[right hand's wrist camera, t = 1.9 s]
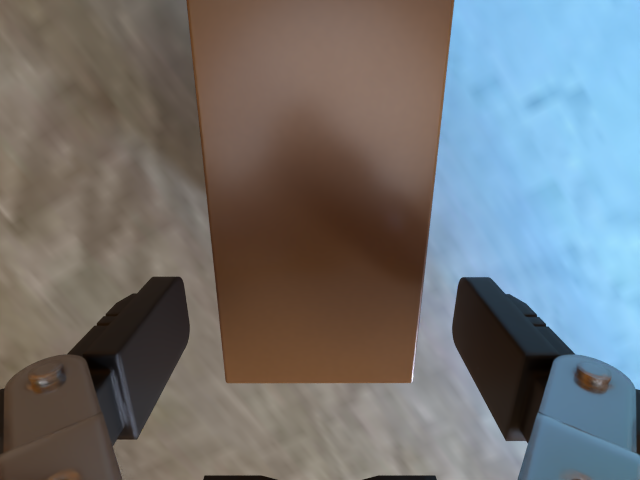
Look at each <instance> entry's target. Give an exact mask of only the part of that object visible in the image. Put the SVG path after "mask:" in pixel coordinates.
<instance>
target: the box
mask: <svg viewBox="0 0 640 480" xmlns="http://www.w3.org/2000/svg"><path fill="white" fill-rule="evenodd" d="M453 8H454V0H187V10H188V20H189V30H190V39H191V49H192V59H193V68H194V78H195V88H196V97H197V107H198V117H199V127H200V136H201V146H202V156H203V165H204V175H205V185H206V194H207V204H208V214H209V224H210V233H211V243H212V253H213V262H214V272H215V282H216V292H217V301H218V311H219V321H220V330H221V340H222V350H223V359H224V369H225V379H226V382H227V383H412V381H413V375H414V365H415V356H416V347H417V338H418V329H419V320H420V310H421V301H422V292H423V283H424V274H425V265H426V255H427V246H428V237H429V228H430V219H431V210H432V200H433V191H434V182H435V173H436V164H437V155H438V145H439V136H440V127H441V118H442V109H443V100H444V90H445V81H446V72H447V63H448V54H449V45H450V35H451V26H452V17H453Z"/></svg>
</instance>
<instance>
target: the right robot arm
mask: <svg viewBox="0 0 640 480" xmlns="http://www.w3.org/2000/svg"><path fill="white" fill-rule="evenodd" d="M189 332H190V324H189V317H188V310H187V303H186V296H185V289H184V283H183V280H182V278H181V277H152V278H151V279H150V280H149V281H148V282H147V283H146V284H145V285H144V286H143V288H142V289H141V290H140V291H139V292H138V293H137V294H131V295H130V296H128V297H126V298H124V299H123V300H121V301H119V302H117V303H116V304H115V305H114V306H113V307H112V308H111V309H110V310H109V311H108V312H107V313H106V316H103V318H102V319H101V320H100V321H99V322H98V323H97V326H94V327H93V328H92V329H91V330H90V331H89V332H88V333H87V334H86V335H85V336H84V337H83V338H82V339H81V340H80V341H79V342H78V343H77V344H76V346H75V347H74V348H73V349H72V350H71V351H70V352H69V353H68V354H67V355H58V356H53V357H49V358H46V359H43V360H40V361H38V362H35V363H33V364H31V365H29V366H27V367H25V368H24V369H22V370H21V371H19V372H18V373H17V374H15V375H14V376H13V377H12V378H11V379H10V380H9V382H8V383H7V385H6V387H5V389H0V480H122V477H121V473H120V470H119V467H118V463H117V460H116V456H115V453H114V450H113V445H114V443H115V442H116V440H117V439H137V438H138V437H139V435H140V433H141V431H142V429H143V427H144V425H145V423H146V421H147V419H148V418H149V416H150V414H151V412H152V410H153V408H154V406H155V404H156V402H157V400H158V399H159V397H160V395H161V393H162V391H163V389H164V387H165V385H166V383H167V382H168V380H169V378H170V376H171V374H172V372H173V370H174V368H175V366H176V364H177V363H178V361H179V359H180V357H181V355H182V353H183V351H184V349H185V347H186V345H187V343H188V339H189ZM452 333H453V340H454V343H455V346H456V348H457V350H458V352H459V354H460V355H461V357H462V359H463V361H464V363H465V365H466V367H467V369H468V370H469V372H470V374H471V376H472V378H473V380H474V382H475V384H476V386H477V387H478V389H479V391H480V393H481V395H482V397H483V399H484V401H485V402H486V404H487V406H488V408H489V410H490V412H491V414H492V416H493V417H494V419H495V421H496V423H497V425H498V427H499V429H500V431H501V432H502V434H503V436H504V438H505V440H506V441H527V443H528V446H527V450H526V453H525V456H524V460H523V463H522V467H521V470H520V473H519V477H518V480H640V390H637V389H635V387H634V385H633V383H632V382H631V380H630V379H629V378H628V377H627V376H626V375H625V374H623V373H622V372H621V371H619V370H618V369H616V368H615V367H613V366H611V365H609V364H607V363H605V362H602V361H600V360H597V359H594V358H591V357H587V356H582V355H575V354H574V353H573V351H572V350H571V349H570V348H569V347H568V346H567V345H566V344H565V343H564V342H563V341H562V340H561V339H560V338H559V337H558V336H557V335H556V334H555V333H554V332H553V331H552V330H551V329H550V328H549V327H546V324H545V323H544V322H543V321H542V320H541V319H540V318H539V317H537V314H536V313H535V312H534V311H533V310H532V309H531V308H530V307H529V306H528V305H527V304H526V303H524V302H522V301H520V300H519V299H517V298H515V297H513V296H512V295H510V294H505V293H504V292H503V291H502V290H501V289H500V288H499V287H498V286H497V284H496V283H495V282H494V281H493V280H492V279H491V278H489V277H463V278H461V279H460V281H459V284H458V290H457V297H456V304H455V310H454V317H453V325H452ZM203 480H276V479H272V478H269V477H265V476H204V479H203ZM364 480H437V479H436V476H375V477H371V478H368V479H364Z"/></svg>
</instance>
